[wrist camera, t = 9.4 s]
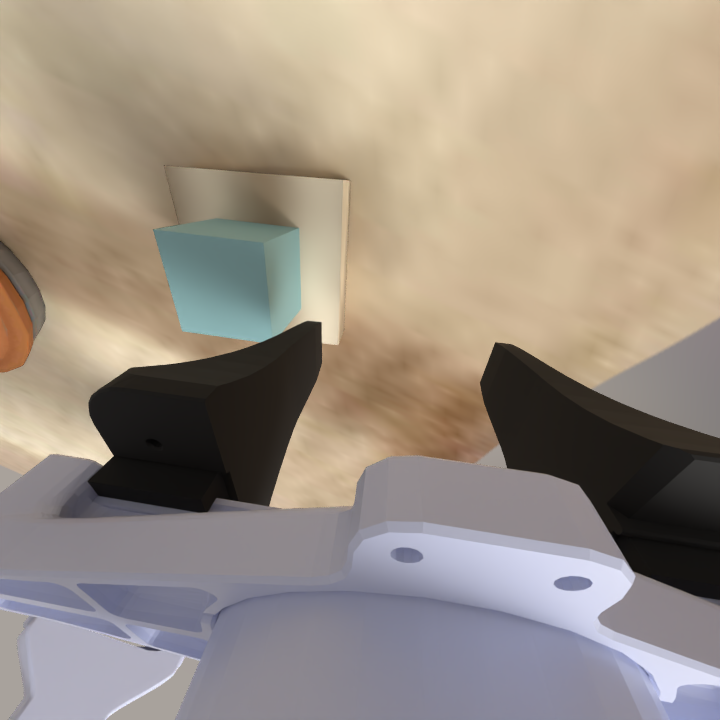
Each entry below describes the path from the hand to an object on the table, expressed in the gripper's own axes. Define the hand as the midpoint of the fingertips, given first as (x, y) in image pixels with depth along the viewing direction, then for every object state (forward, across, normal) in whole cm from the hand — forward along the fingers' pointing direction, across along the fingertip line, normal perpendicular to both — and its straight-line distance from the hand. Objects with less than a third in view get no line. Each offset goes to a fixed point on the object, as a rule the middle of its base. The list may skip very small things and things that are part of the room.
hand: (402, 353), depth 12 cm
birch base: (+9, +9, -1) cm, 13 cm away
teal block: (+7, +9, -1) cm, 11 cm away
